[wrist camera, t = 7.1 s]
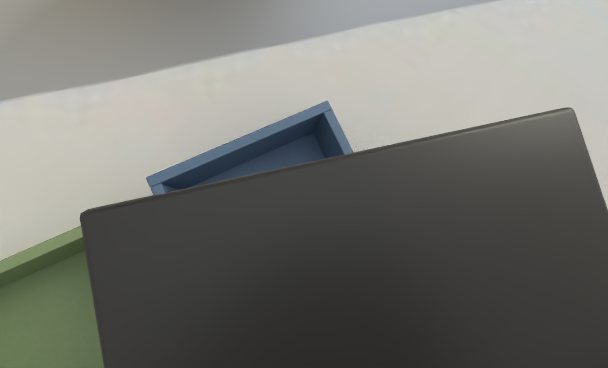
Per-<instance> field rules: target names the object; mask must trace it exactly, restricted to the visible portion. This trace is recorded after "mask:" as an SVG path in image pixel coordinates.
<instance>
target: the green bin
mask: <svg viewBox="0 0 608 368" xmlns="http://www.w3.org/2000/svg"><path fill="white" fill-rule="evenodd" d="M0 368H104V363H103V357H102V351H101V345H100V339H99V333H98V326H97V320H96V314H95V308H94V302H93V296H92V290H91V283H90V277H89V271H88V265H87V259H86V253H85V247H84V240H83V234H82V228H81V226H79V227H77V228H75V229H73V230H70V231H68V232H66V233H63V234H61V235H59V236H56V237H54V238H52V239H50V240H47V241H45V242H43V243H40V244H38V245H36V246H34V247H31V248H29V249H27V250H24V251H22V252H20V253H18V254H15V255H13V256H11V257H8V258H6V259H4V260H1V261H0Z"/></svg>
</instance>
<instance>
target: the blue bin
mask: <svg viewBox="0 0 608 368" xmlns="http://www.w3.org/2000/svg"><path fill="white" fill-rule="evenodd" d="M331 109H332V108H331V106H330V104H329V102H328V101H325V102H323V103H321V104H318V105H316V106H314V107H311V108H309V109H307V110H304V111H302V112H299V113H297V114H295V115H292V116H290V117H288V118H285V119H283V120H281V121H278V122H276V123H274V124H271V125H269V126H266V127H264V128H262V129H259V130H257V131H255V132H252V133H250V134H248V135H245V136H243V137H241V138H238V139H236V140H233V141H231V142H229V143H226V144H224V145H222V146H219V147H217V148H215V149H212V150H210V151H208V152H205V153H203V154H200V155H198V156H196V157H193V158H191V159H189V160H186V161H184V162H182V163H179V164H177V165H175V166H172V167H170V168H167V169H165V170H163V171H160V172H158V173H156V174H153V175H151V176H149V177H147V178H146V179H147V182H148V184H149V186H150V187H151V190H152V193H153V195H157V194H162V193H167V192H171V191H176V190H181V189H185V188H190V187H195V186H200V185H204V184H209V183H214V182H218V181H223V180H228V179H232V178H237V177H242V176H246V175H251V174H256V173H261V172H265V171H270V170H275V169H279V168H284V167H289V166H293V165H298V164H303V163H307V162H312V161H317V160H322V159H326V158H331V157H336V156H340V155H345V154H350V153H354V152H353V150H352V148H351V146H350V144H349V142H348V140H347V138H346V136H345V134H344V132H343V130H342V128H341V126H340V124H339V122H338V120H337V118H336V116H335V114H334V112H333V110H331Z"/></svg>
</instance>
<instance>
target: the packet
mask: <svg viewBox="0 0 608 368" xmlns="http://www.w3.org/2000/svg"><path fill="white" fill-rule="evenodd" d="M80 222H81V228H82V234H83V240H84V247H85V253H86V259H87V265H88V271H89V277H90V283H91V290H92V296H93V302H94V308H95V314H96V320H97V326H98V333H99V339H100V345H101V351H102V357H103V363H104V368H608V209H607V207H606V204H605V201H604V198H603V195H602V192H601V189H600V186H599V183H598V180H597V177H596V174H595V171H594V168H593V165H592V162H591V159H590V156H589V153H588V150H587V147H586V144H585V141H584V138H583V135H582V132H581V129H580V126H579V124H578V121H577V118H576V115H575V112H574V110H573V109H572V108H561V109H556V110H551V111H547V112H542V113H537V114H533V115H528V116H523V117H519V118H514V119H509V120H504V121H500V122H495V123H490V124H486V125H481V126H476V127H472V128H467V129H462V130H458V131H453V132H448V133H443V134H439V135H434V136H429V137H425V138H420V139H415V140H411V141H406V142H401V143H397V144H392V145H387V146H382V147H378V148H373V149H368V150H364V151H359V152H354V153H350V154H345V155H340V156H336V157H331V158H326V159H322V160H317V161H312V162H307V163H303V164H298V165H293V166H289V167H284V168H279V169H275V170H270V171H265V172H261V173H256V174H251V175H246V176H242V177H237V178H232V179H228V180H223V181H218V182H214V183H209V184H204V185H200V186H195V187H190V188H185V189H181V190H176V191H171V192H167V193H162V194H157V195H153V196H148V197H143V198H139V199H134V200H129V201H124V202H120V203H115V204H110V205H106V206H101V207H96V208H92V209H88V210H86V211H84V212H83V213H81V215H80Z"/></svg>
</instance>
